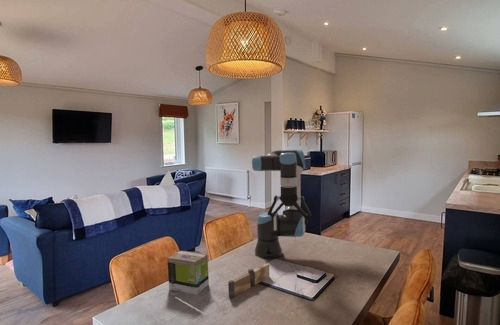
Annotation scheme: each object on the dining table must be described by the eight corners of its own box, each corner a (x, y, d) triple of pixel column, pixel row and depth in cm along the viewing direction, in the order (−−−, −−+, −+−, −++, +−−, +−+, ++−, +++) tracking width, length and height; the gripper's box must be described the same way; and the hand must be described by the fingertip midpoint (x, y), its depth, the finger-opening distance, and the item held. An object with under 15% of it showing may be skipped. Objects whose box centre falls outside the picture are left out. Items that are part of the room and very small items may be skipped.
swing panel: (251, 287, 134) (251, 271, 133) (247, 285, 135) (247, 270, 135) (269, 276, 143) (269, 262, 142) (265, 275, 144) (265, 261, 144)
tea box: (209, 285, 138) (208, 253, 136) (196, 296, 129) (195, 262, 127) (182, 280, 144) (180, 249, 143) (168, 290, 135) (166, 257, 134)
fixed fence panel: (227, 298, 126) (227, 282, 126) (247, 287, 135) (246, 272, 134) (231, 300, 125) (231, 283, 124) (251, 289, 133) (250, 273, 133)
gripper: (260, 187, 142) (261, 231, 145) (315, 188, 136) (315, 234, 138) (264, 184, 150) (265, 226, 152) (316, 185, 143) (317, 229, 145)
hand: (289, 230), depth 145 cm, fingers open, 13 cm apart
